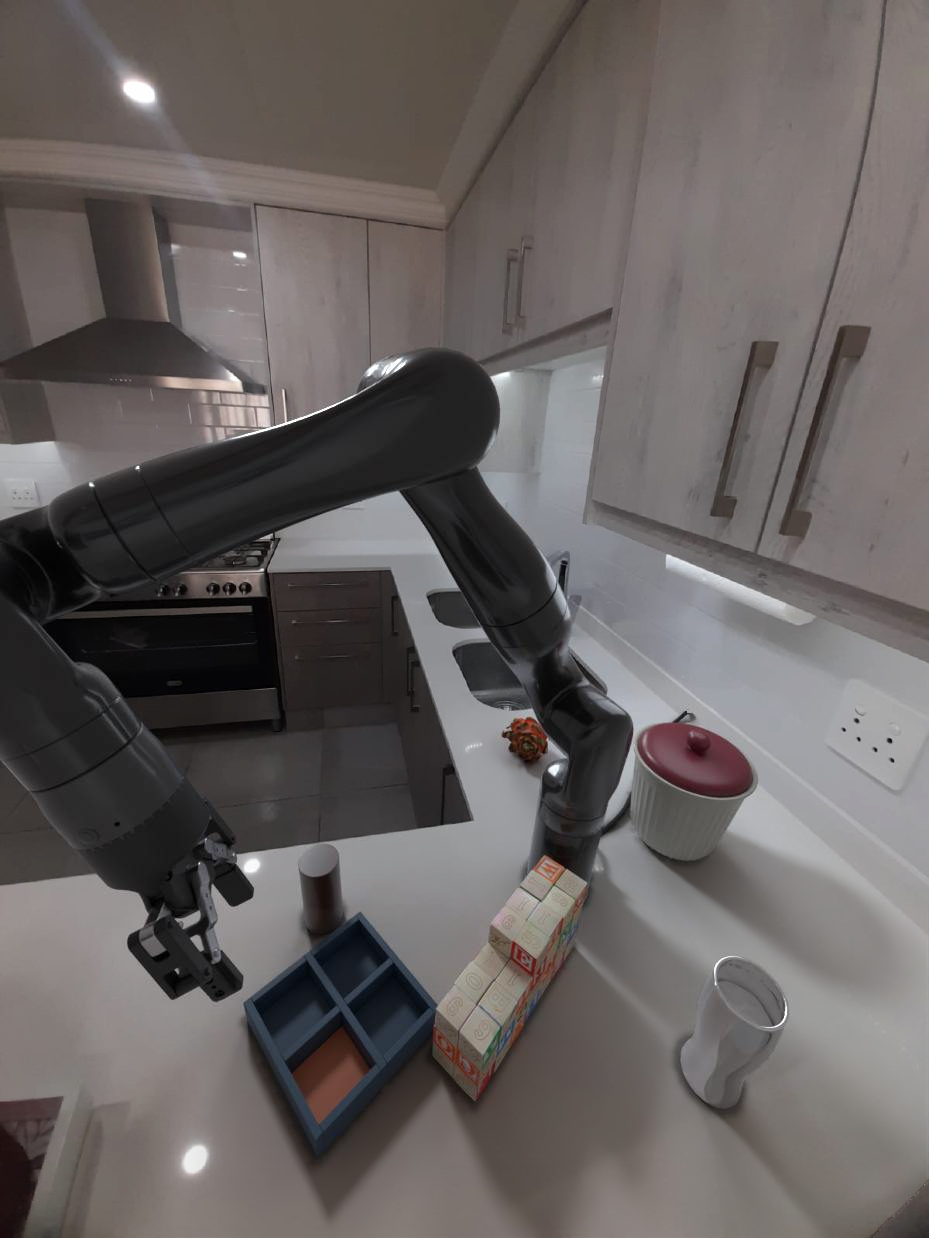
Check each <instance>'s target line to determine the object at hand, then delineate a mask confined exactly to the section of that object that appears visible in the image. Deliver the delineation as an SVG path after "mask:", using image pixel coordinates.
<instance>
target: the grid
mask: <svg viewBox="0 0 929 1238" xmlns="http://www.w3.org/2000/svg"><path fill="white" fill-rule="evenodd" d="M242 1004H243V1008H244V1014H245V1017H246V1022H247V1023H248V1025H249V1027H250V1030H251V1032H252V1033H253V1035H254V1037H255V1039H256V1041H257V1043H258V1045H259V1047H260V1049H261V1051H262V1053H263V1055H264V1056H265V1059H266V1060H267V1063H268V1064H269V1066H270V1068H271V1070H272V1072H273V1074H274V1076H275V1078H276V1080H277V1082H278V1084H279V1085H280V1087H281V1089H282V1091H283V1093H284V1095H285V1098H286V1099H287V1101H288V1103H289V1105H290V1107H291V1109H292V1110H293V1113H294V1115H295V1117H296V1119H297V1120H298V1122H299V1124H300V1127H301V1129H302V1131H303V1133H304V1134H305V1136H306V1138H307V1140H308V1142H309V1145H310V1146H311V1148H312V1150H313V1152H314V1154H315V1156H316V1158H317V1159H319V1158H320V1157H321V1156H322V1155H323V1154H324V1152H325V1151H326V1150H327V1149H328V1148H329V1147H330V1146H331V1145H332V1144H333V1142H335V1141H336V1139H337V1138H338V1137H339V1136H340V1135H341V1134H342V1133H343V1131H345V1129H346V1128H347V1127H348V1126H349V1125H350V1124H351V1123H352V1122H353V1120H354V1119H356V1117H357V1116H358V1115H359V1114H360V1113H361V1112H362V1110H364V1108H365V1107H366V1106H367V1105H368V1104H369V1103H370V1101H372V1099H373V1098H374V1097H375V1096H376V1095H377V1094H378V1092H380V1090H381V1089H382V1088H383V1087H384V1086H385V1085H386V1084H387V1083H388V1081H389V1080H391V1079H392V1078H393V1076H394V1075H395V1074H396V1073H397V1072H398V1071H399V1069H400V1068H401V1067H402V1066H403V1065H404V1064H405V1063H406V1062H407V1061H408V1060H409V1058H410V1057H411V1056H412V1055H413V1054H414V1053H415V1052H416V1050H417V1049H419V1048H420V1046H421V1045H422V1044H423V1043H424V1042H425V1041H426V1040H427V1039H428V1037H430V1035H432V1034H433V1029H434V1025H435V1013H436V1007H437V1006H438V1005H439V1004H437V1002H436V1001H435V999H434V998H433V997H432V996H431V995H430V994H429V993H428V991H427V990H426V989H425V988H424V986H423V985H422V984H421V983H420V981H419V980H418V979H417V978H416V977H415V975H414V974H413V973H412V972H411V971H410V969H409V968H408V967H407V966H406V965H405V963H404V962H403V961H402V960H401V958H400V957H399V956H398V954H396V952H395V951H394V950H393V949H392V948H391V947H390V945H389V944H388V943H387V942H386V941H385V939H384V938H383V937H382V936H381V934H380V933H379V931H377V929H376V928H375V927H374V926H373V924H371V922H370V921H369V920H368V919H367V918H366V916H365V915H364V914H363V913H362V912H361V911H359V912H357V913H356V914H355V915H353V916H352V917H351V918H350V919H348V920H347V921H345V922H344V923H343V924H342V925H341V926H339V927H337V929H335V930H333V931H332V933H330V934H329V935H328V936H326V937H325V938H324V939H323V940H322V941H320V942H319V943H318V944H316V945H315V946H314V947H312V948H311V949H310V950H308V952H306V953H305V954H304V955H303V956H301V957H300V958H298V959H297V960H296V961H294V962H293V963H292V964H291V965H290V966H288V967H287V968H286V969H284V970H283V971H282V972H280V974H278V975H277V976H276V977H274V978H273V979H272V980H271V981H269V982H268V983H266V984H265V985H264V986H262V987H261V988H260V989H259V990H257V992H255V993H254V994H252V995H251V996H250V997H249V998H247V999H246V1000H244V1002H243V1003H242Z"/></svg>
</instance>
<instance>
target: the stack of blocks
mask: <svg viewBox="0 0 929 1238" xmlns="http://www.w3.org/2000/svg"><path fill="white" fill-rule="evenodd" d="M586 889H587V882H585V881H584V880H582V879H581V878H579V877H578V876H576V875H575V874H573V873H572V872H571V871H569V870H568V869H566V870H565V868H564V867H563V866H561V865H560V864H558V863H557V862H555V861H553V860H552V859H550V858H549V857H547V856H545V855H544V856H543V857H542V859H541V860H540V861H539V863H538V864H537V865H536V866H535V867H534V869H533V870H531V871H530V873H529V874H528V875H527V877H526V876H525V878H524V879H523V880H522V882H521V883H520V885H519V886H518V887H517V888H516V889H515V890H514V892H512V894H511V895H510V897H509V898H508V899H507V901H506V902H505V904H504V905H503V907H502V908H501V909H500V910H499V912H498V913H497V914H496V916H495V917H494V918H493V919H492V921H491V922H490V925H489V932H488V938H487V942H486V943H485V944H484V946H483V947H482V948H481V949H480V951H479V952H478V953H477V954H476V956H475V957H474V958H473V960H472V961H470V962H469V963H468V965H467V966H466V967H465V968H464V970H463V971H462V972H461V974H460V975H459V976H458V977H457V979H456V980H455V981H454V983H453V986H452V987H451V988H450V989H449V991H448V992H447V994H446V995H445V996H444V997H443V998H442V1000H441V1001H440V1002H439V1003H438V1004H437V1005H438V1006H437V1007H436V1013H435V1025H434V1029H433V1032H432V1052H431V1053H432V1054H431V1055H432V1057H433V1058H434V1059H435V1060H436V1062H437V1063H439V1065H440V1066H441V1067H442V1068H443V1069H444V1071H446V1072H447V1074H449V1075H450V1077H451V1078H452V1079H453V1081H454V1082H456V1084H457V1085H458V1086H459V1087H460V1089H462V1091H463V1092H465V1093H466V1095H468V1097H469V1098H471V1100H472V1101H474V1102H475V1103H476V1102H477V1101H478V1099H479V1097H480V1095H481V1094H482V1092H483V1091H484V1089H485V1088H486V1086H487V1084H488V1082H489V1081H490V1079H491V1078H492V1076H493V1074H495V1073H496V1071H497V1069H498V1068H499V1066H500V1064H501V1063H502V1061H503V1059H504V1058H505V1056H506V1055H507V1053H508V1052H509V1049H511V1047H512V1045H513V1044H514V1042H515V1041H516V1039H517V1037H518V1035H520V1033H521V1031H522V1029H523V1028H524V1026H525V1023H526V1021H527V1020H528V1018H529V1016H530V1015H531V1014H532V1012H533V1010H534V1009H535V1007H536V1005H537V1003H538V1001H540V998H541V997H542V996H543V994H544V992H545V990H546V989H547V987H548V986H549V984H550V983H551V982H552V980H553V979H554V977H555V976H556V974H558V971H559V969H560V968H561V966H562V965H563V963H564V962H565V960H566V959H567V957H568V956H569V954H570V952H571V951H572V949H573V948H574V946H575V940H576V938H577V937H576V936H577V931H578V926H579V923H580V922H579V921H580V918H581V914H582V911H583V906H584V902H585V901H584V897H585V893H586Z"/></svg>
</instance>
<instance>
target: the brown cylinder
mask: <svg viewBox="0 0 929 1238" xmlns="http://www.w3.org/2000/svg"><path fill="white" fill-rule="evenodd" d="M297 864H298V865H297V867H298V873H299V882H300V891H301V898H302V899H301V900H302V907H303V914H304V924H305V927H306V928H307V930H308V931H309V932H310V933H311V934H314V935H326V934H329V933H331V932H334V931H335V930H336V928H338V926H339V925H340V924H341V922H342V920H343V917H344V908H343V907H344V906H343V890H342V879H341V863H340V854H339V851H338V849H337V848H336V847H335V846H334V845H332V844H329V843H317V844H313V845H311V846H309V847H308V848H306V849H305V850H304V851H303V852H302V854H301V855H300V856H299V859H298V863H297Z"/></svg>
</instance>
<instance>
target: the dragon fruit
mask: <svg viewBox="0 0 929 1238" xmlns="http://www.w3.org/2000/svg"><path fill="white" fill-rule="evenodd" d="M505 729H506V731H505V730H502V731H501V738H503V739H507V740H508V741H510V743H509V745H508V747H507V749H508V751H509V753H512V754H517V757H518V758H519V760H523V761H524V760H525V761H526V760H527V761H531V762H532V763H538V762H539V761H540V759H541V757H542V755H547V754H548V753H549V743H548V740H547V739H548V737H547V736H546V735H545V734H544V732H543V730H542V729H541V727H540V725H539V723H538V720H537V719H536V718H534V717H532V716H526V717H525V718H523V717H519V718H517V717H514V718H513V720H512V721H511V722H510V725H508V726H506V727H505ZM508 729H510V730H508Z"/></svg>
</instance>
